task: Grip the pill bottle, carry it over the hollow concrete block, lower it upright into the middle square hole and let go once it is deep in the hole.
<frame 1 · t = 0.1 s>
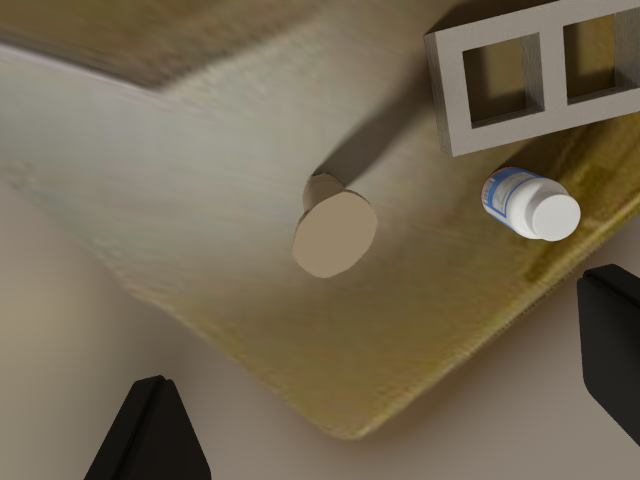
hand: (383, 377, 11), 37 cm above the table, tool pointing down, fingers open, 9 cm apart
pill bottle: (505, 191, 48), on the table
handle: (321, 187, 47), on the table
hollow concrete block: (579, 58, 44), on the table
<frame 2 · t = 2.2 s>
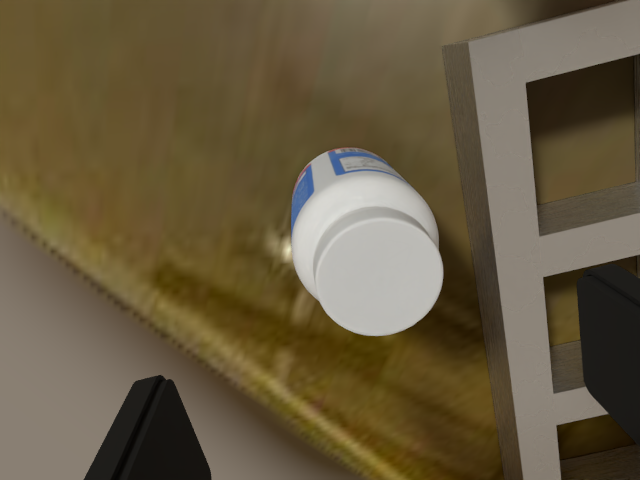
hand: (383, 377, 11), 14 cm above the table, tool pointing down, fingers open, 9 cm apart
pill bottle: (346, 198, 24), on the table
hollow concrete block: (576, 289, 26), on the table
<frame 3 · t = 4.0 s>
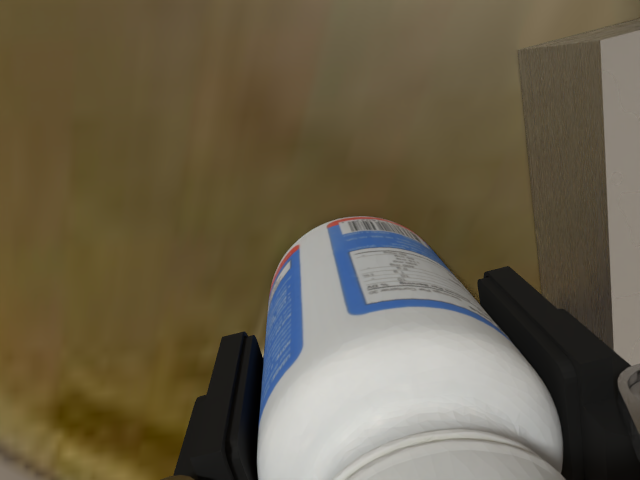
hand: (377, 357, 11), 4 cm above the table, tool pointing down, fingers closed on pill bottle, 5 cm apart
pill bottle: (357, 291, 15), on the table, touching gripper
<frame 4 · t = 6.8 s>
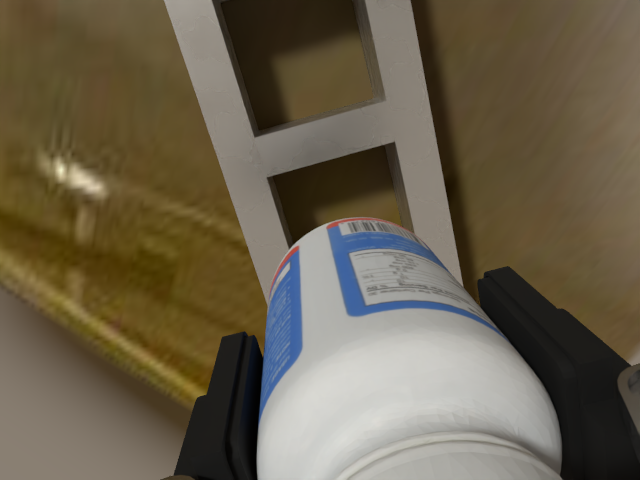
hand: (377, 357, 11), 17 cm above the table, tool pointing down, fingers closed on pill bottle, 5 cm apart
pill bottle: (356, 292, 15), point 13 cm above the table, touching gripper
hollow concrete block: (339, 204, 28), on the table
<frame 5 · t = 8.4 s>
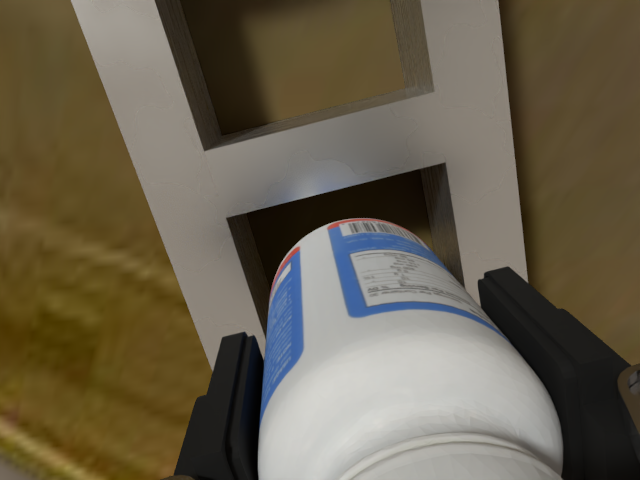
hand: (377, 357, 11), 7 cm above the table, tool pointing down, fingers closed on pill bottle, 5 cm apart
pill bottle: (357, 293, 15), point 4 cm above the table, touching gripper
hollow concrete block: (346, 249, 18), on the table
when the fingers open (4 cm above the table, at t = 9.8 s): pill bottle stays where it is, resting in hollow concrete block.
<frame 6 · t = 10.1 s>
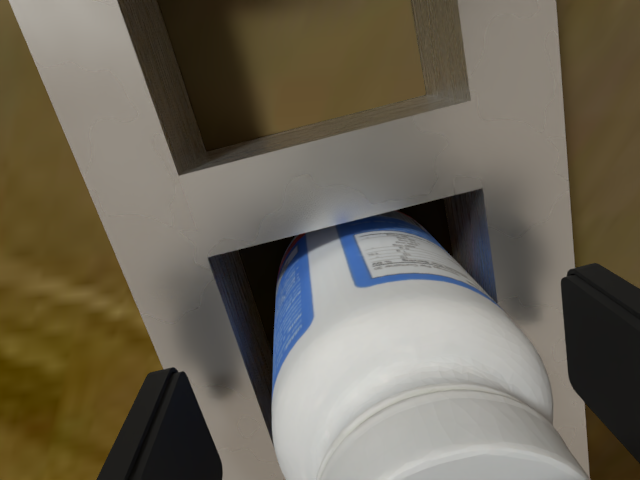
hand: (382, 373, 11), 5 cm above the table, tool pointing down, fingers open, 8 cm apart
pill bottle: (359, 277, 16), resting in hollow concrete block
hollow concrete block: (354, 284, 16), on the table
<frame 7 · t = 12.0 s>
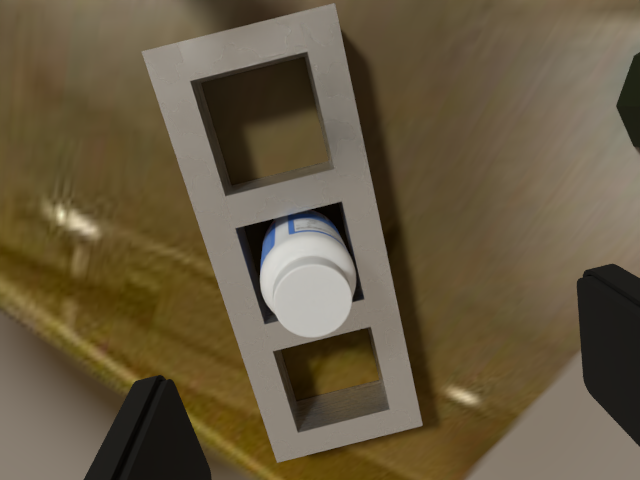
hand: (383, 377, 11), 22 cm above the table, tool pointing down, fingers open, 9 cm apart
pill bottle: (302, 244, 33), resting in hollow concrete block
hollow concrete block: (299, 247, 33), on the table
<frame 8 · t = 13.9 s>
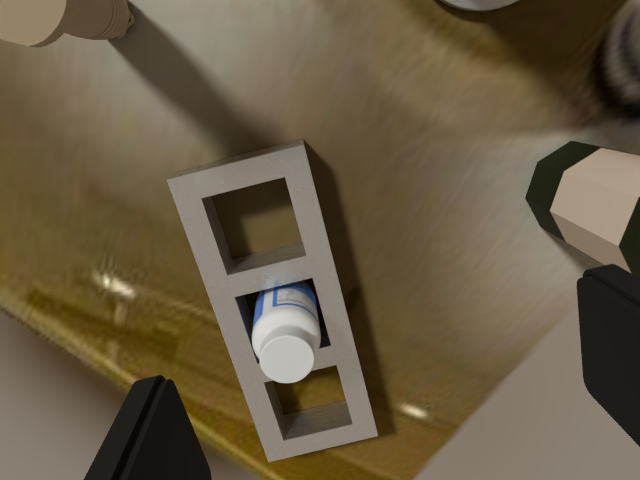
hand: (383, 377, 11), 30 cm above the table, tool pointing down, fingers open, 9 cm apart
pill bottle: (286, 300, 44), resting in hollow concrete block
handle: (114, 15, 35), on the table
wine bottle: (571, 187, 42), on the table
hollow concrete block: (284, 302, 43), on the table
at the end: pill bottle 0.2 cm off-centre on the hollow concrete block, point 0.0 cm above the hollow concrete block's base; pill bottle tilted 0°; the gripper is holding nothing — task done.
